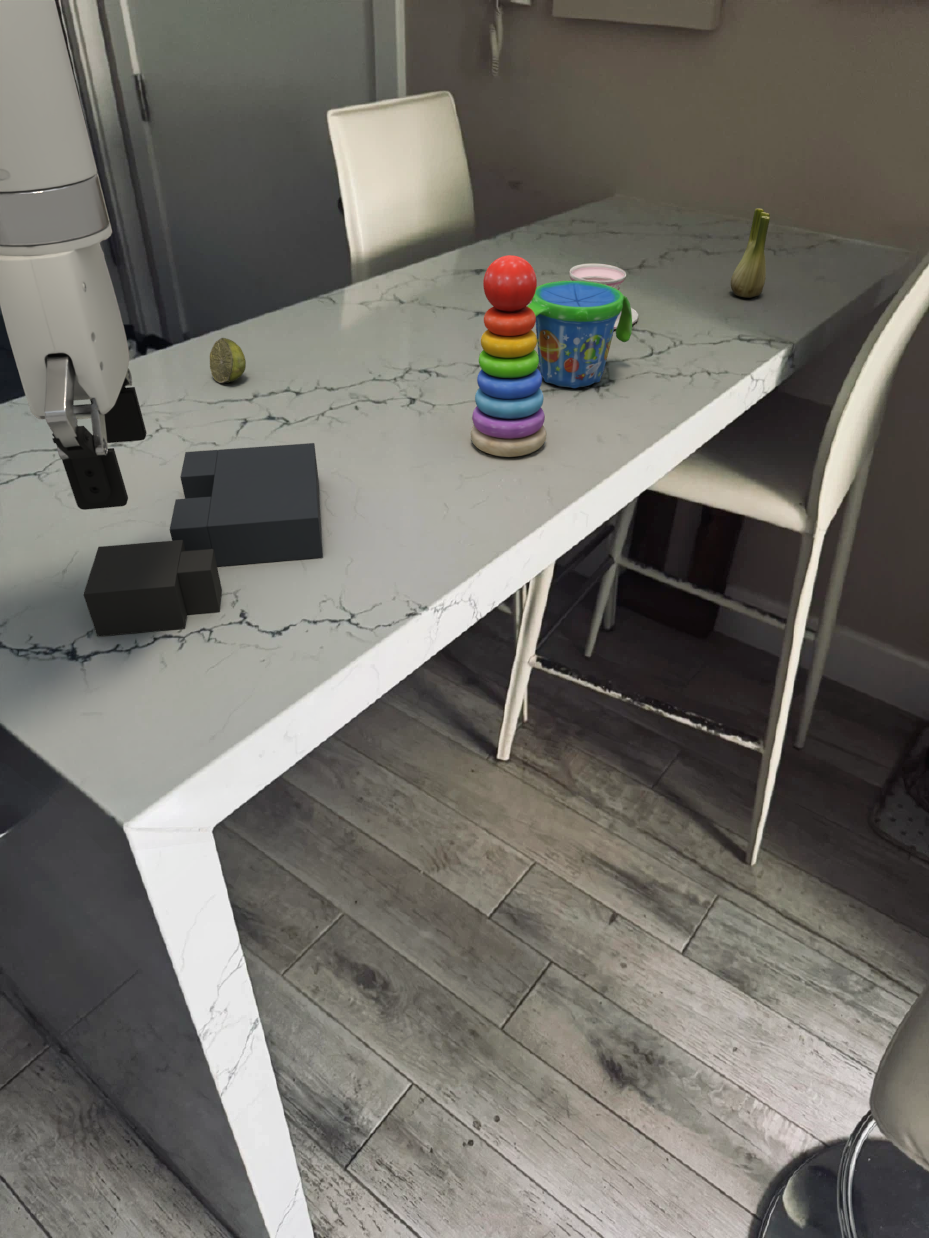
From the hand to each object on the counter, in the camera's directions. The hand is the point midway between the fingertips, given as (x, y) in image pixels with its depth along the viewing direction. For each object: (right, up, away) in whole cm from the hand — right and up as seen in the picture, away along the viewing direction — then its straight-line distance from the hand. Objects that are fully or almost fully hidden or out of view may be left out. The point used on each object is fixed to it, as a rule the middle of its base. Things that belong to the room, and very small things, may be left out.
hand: (115, 471), depth 62 cm
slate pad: (+6, -2, +17) cm, 18 cm away
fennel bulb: (+67, +38, +70) cm, 104 cm away
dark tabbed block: (+1, -10, +7) cm, 12 cm away
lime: (-4, +18, +44) cm, 47 cm away
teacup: (+43, +32, +62) cm, 82 cm away
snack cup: (+38, +19, +44) cm, 61 cm away
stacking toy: (+29, +8, +30) cm, 43 cm away
